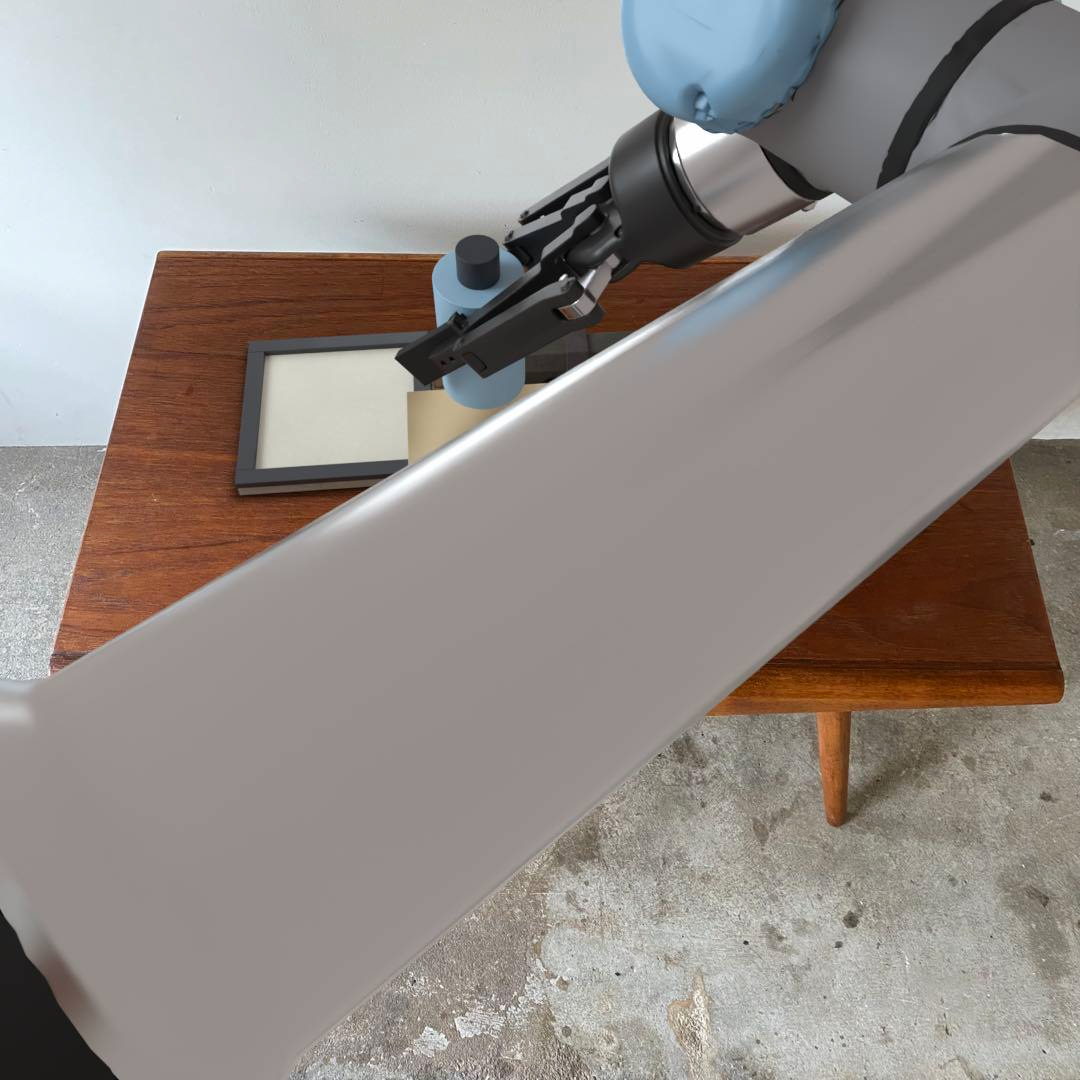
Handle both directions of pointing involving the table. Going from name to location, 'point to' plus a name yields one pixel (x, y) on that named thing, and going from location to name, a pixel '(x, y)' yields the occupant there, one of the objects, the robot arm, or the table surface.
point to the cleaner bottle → (466, 288)
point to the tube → (562, 355)
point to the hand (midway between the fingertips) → (430, 334)
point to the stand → (443, 419)
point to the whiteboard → (324, 413)
